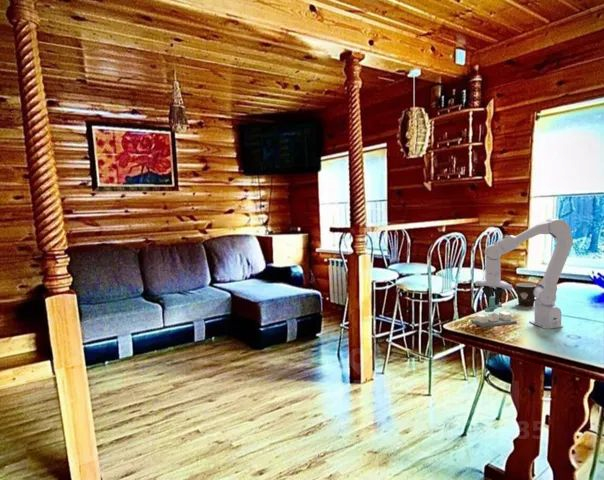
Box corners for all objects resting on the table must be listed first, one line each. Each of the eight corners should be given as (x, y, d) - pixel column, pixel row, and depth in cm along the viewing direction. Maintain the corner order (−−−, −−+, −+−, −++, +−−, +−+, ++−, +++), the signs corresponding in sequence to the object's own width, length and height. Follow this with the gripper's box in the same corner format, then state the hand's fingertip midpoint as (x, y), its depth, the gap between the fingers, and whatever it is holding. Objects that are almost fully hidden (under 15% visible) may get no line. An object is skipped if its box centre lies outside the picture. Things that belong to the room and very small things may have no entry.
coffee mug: (512, 304, 196) (512, 284, 195) (524, 301, 199) (524, 282, 198) (533, 309, 185) (533, 288, 184) (546, 307, 188) (546, 286, 187)
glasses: (495, 304, 176) (495, 293, 175) (503, 305, 173) (503, 294, 172) (482, 311, 167) (482, 299, 166) (491, 312, 164) (491, 301, 164)
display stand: (504, 317, 176) (504, 310, 175) (516, 323, 168) (516, 315, 168) (471, 321, 173) (471, 313, 173) (482, 327, 165) (482, 318, 165)
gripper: (514, 273, 166) (515, 304, 167) (480, 269, 177) (480, 299, 178) (508, 275, 161) (508, 308, 162) (473, 272, 172) (473, 302, 173)
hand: (493, 304), depth 170 cm, fingers closed on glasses, 2 cm apart
